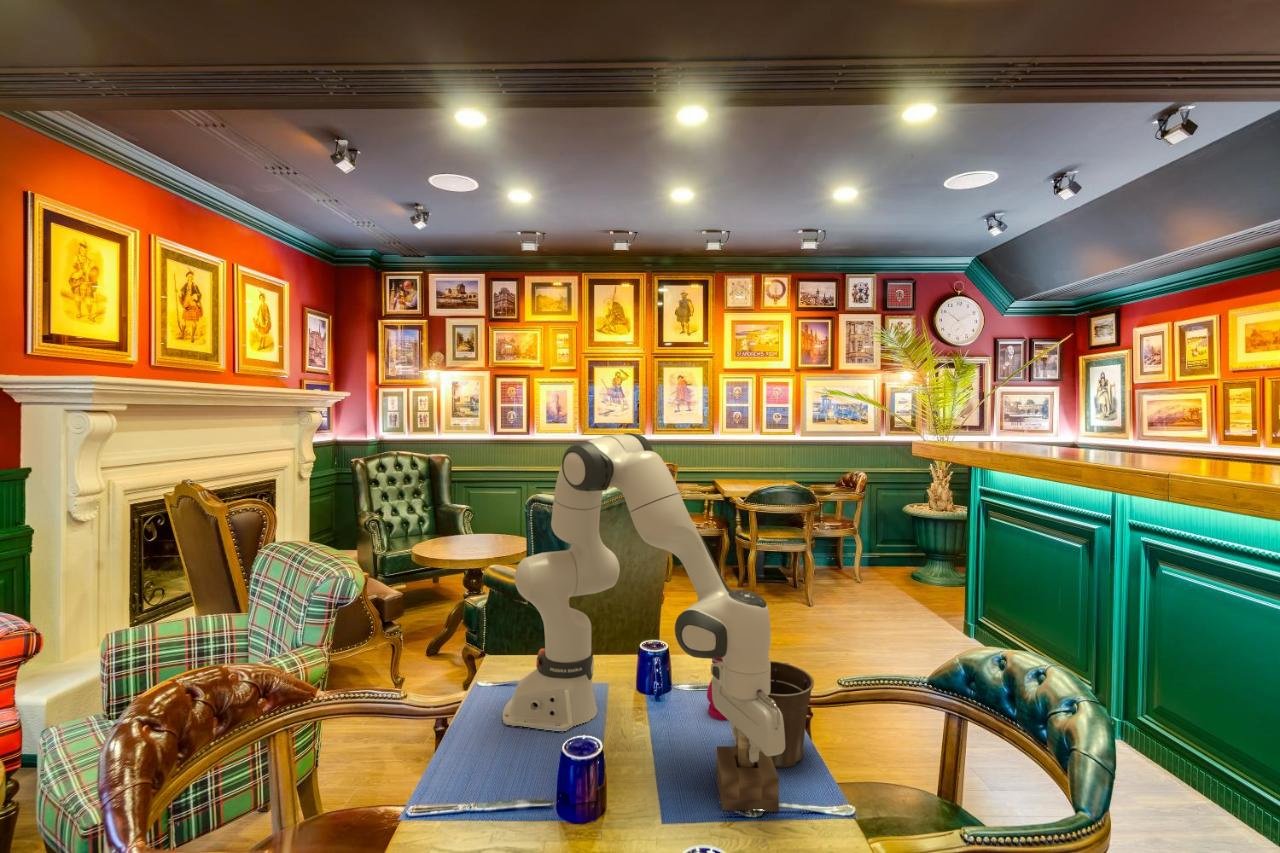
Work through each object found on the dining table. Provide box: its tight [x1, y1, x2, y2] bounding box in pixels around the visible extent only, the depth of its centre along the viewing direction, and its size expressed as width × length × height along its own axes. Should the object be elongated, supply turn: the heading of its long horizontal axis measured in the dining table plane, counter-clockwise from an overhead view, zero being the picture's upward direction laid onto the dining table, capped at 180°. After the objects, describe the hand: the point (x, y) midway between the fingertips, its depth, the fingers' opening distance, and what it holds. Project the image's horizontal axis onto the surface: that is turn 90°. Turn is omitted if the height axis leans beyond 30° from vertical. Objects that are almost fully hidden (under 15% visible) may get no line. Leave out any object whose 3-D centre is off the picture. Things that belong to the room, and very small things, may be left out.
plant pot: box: [768, 660, 815, 769], centre depth 123 cm, size 16×16×16 cm
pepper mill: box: [706, 658, 729, 721], centre depth 139 cm, size 7×7×20 cm
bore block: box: [716, 745, 780, 813], centre depth 109 cm, size 10×10×6 cm
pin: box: [738, 730, 754, 768], centre depth 109 cm, size 3×3×10 cm
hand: (746, 753), depth 109 cm, fingers closed on pin, 3 cm apart
